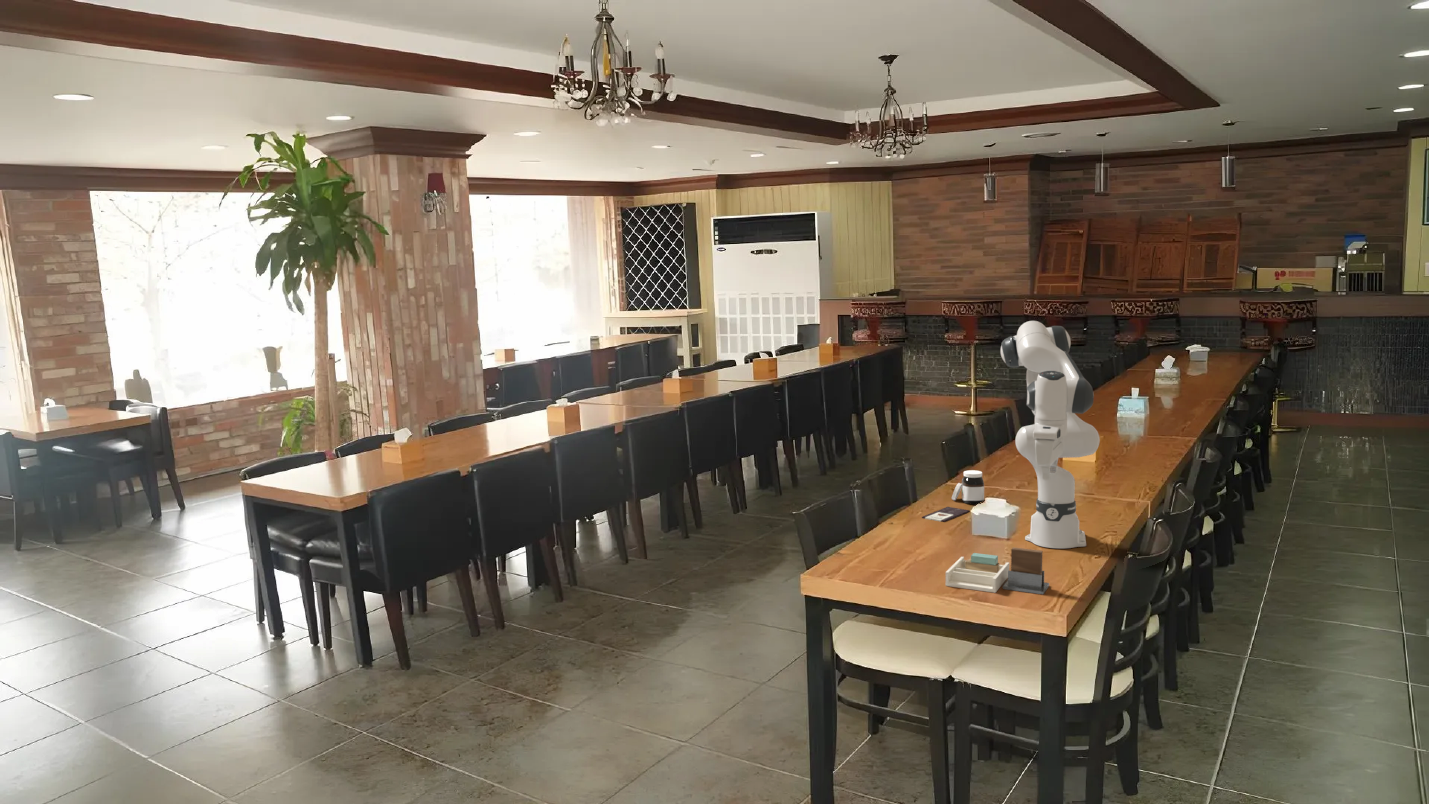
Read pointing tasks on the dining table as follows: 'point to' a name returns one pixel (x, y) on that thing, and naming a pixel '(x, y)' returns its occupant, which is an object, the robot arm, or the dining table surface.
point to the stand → (1026, 582)
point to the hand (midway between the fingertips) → (1049, 475)
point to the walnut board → (1026, 560)
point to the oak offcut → (982, 567)
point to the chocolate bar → (945, 514)
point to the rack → (975, 577)
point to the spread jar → (970, 487)
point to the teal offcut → (984, 559)
